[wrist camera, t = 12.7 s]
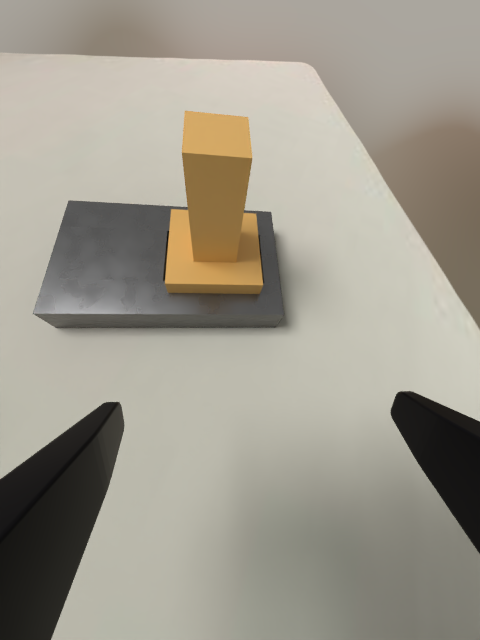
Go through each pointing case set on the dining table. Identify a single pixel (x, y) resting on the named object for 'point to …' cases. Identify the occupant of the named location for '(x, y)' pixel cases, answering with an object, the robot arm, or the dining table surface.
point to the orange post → (214, 211)
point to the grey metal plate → (141, 274)
